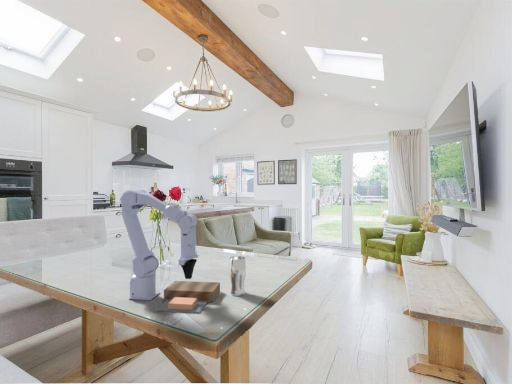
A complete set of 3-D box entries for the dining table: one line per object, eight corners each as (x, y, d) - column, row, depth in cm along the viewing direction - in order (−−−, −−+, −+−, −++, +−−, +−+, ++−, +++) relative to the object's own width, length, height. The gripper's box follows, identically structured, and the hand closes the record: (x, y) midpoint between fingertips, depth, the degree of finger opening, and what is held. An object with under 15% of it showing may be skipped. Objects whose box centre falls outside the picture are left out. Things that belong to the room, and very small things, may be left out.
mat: (156, 311, 100) (156, 309, 100) (168, 300, 110) (168, 299, 110) (199, 313, 98) (199, 311, 98) (207, 301, 108) (207, 300, 108)
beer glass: (246, 290, 120) (245, 255, 120) (246, 296, 113) (245, 259, 113) (230, 290, 120) (229, 256, 120) (229, 296, 113) (228, 260, 113)
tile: (174, 297, 107) (174, 302, 107) (167, 303, 101) (168, 308, 101) (197, 298, 106) (197, 303, 106) (191, 304, 100) (191, 310, 100)
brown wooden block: (163, 300, 110) (163, 290, 110) (175, 290, 121) (175, 280, 121) (212, 302, 108) (212, 291, 108) (219, 291, 119) (219, 282, 119)
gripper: (191, 248, 103) (191, 284, 103) (203, 241, 117) (203, 273, 117) (173, 247, 103) (173, 284, 104) (187, 240, 118) (187, 272, 118)
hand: (188, 278), depth 110 cm, fingers closed
